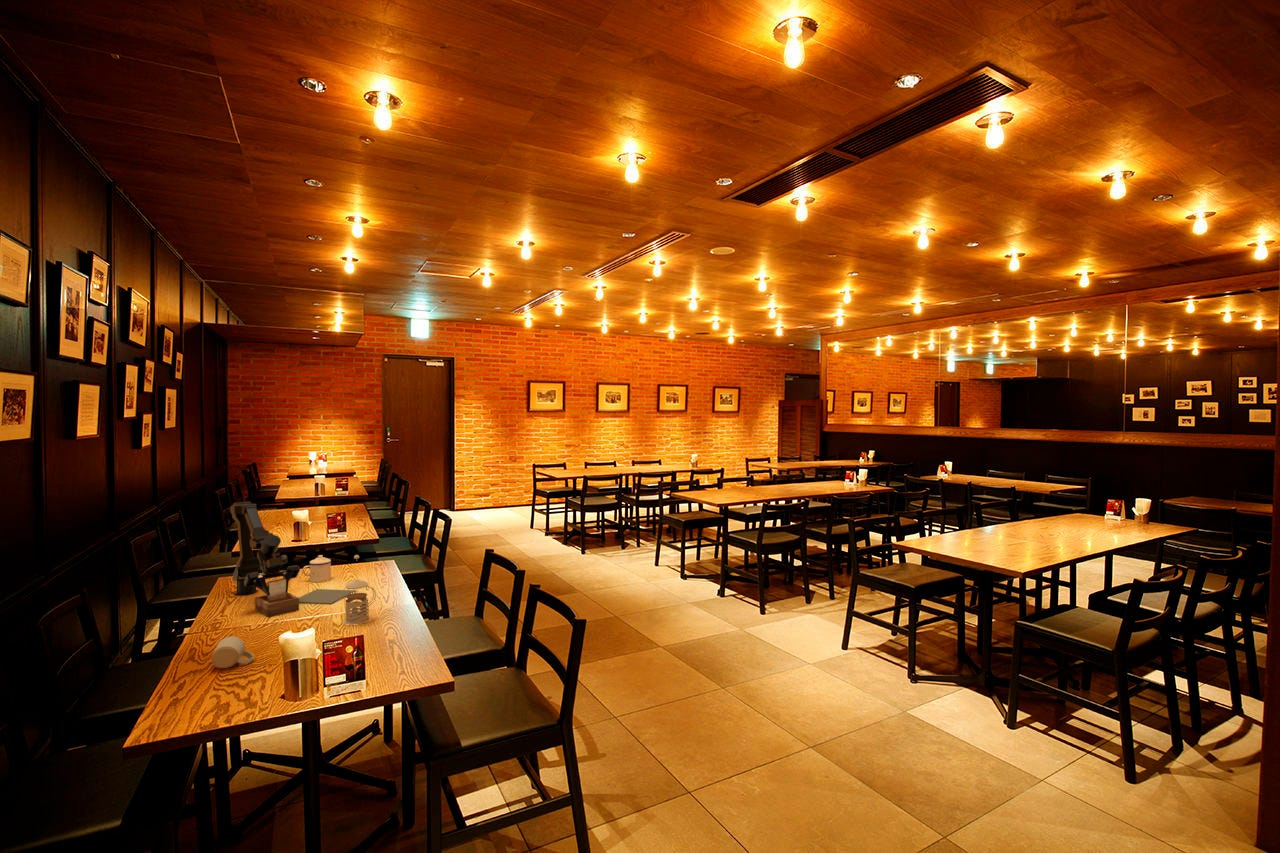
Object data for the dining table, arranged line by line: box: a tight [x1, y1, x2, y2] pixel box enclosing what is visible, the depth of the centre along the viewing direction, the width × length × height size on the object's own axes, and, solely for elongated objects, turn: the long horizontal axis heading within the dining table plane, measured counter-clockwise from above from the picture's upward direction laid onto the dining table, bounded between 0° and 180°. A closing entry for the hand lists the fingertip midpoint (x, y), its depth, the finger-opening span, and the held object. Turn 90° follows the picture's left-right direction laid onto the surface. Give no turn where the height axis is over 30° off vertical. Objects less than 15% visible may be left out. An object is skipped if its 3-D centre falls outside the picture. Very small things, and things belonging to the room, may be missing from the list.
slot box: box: [254, 591, 300, 618], centre depth 239 cm, size 14×11×5 cm
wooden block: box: [266, 578, 286, 600], centre depth 239 cm, size 2×6×9 cm, turn 140°
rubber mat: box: [298, 588, 357, 605], centre depth 257 cm, size 18×18×1 cm
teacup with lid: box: [302, 554, 332, 583], centre depth 282 cm, size 12×9×12 cm
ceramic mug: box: [211, 635, 255, 669], centre depth 188 cm, size 11×8×8 cm
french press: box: [342, 554, 377, 626], centre depth 228 cm, size 10×12×25 cm
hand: (278, 593), depth 238 cm, fingers closed on wooden block, 6 cm apart
